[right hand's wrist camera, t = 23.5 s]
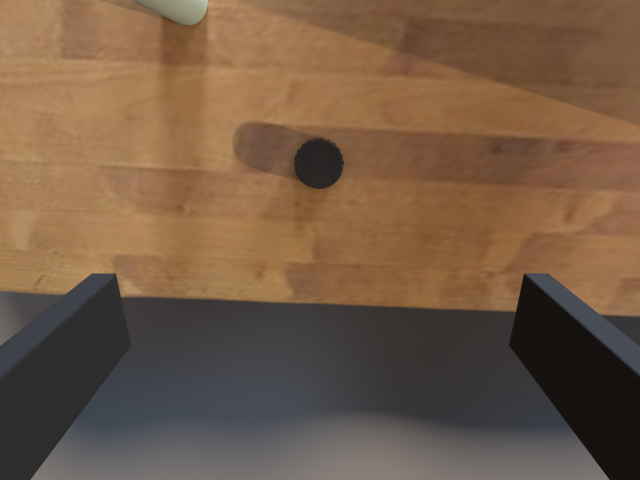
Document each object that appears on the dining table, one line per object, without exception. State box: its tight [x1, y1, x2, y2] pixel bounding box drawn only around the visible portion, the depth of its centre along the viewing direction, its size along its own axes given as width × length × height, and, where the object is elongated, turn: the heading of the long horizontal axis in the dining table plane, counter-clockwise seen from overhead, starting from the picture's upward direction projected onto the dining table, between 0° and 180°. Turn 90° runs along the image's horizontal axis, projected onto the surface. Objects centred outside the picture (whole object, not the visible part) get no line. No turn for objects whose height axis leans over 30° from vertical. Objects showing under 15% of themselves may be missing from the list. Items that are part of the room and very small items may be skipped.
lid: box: [294, 138, 344, 189], centre depth 39 cm, size 5×5×2 cm
